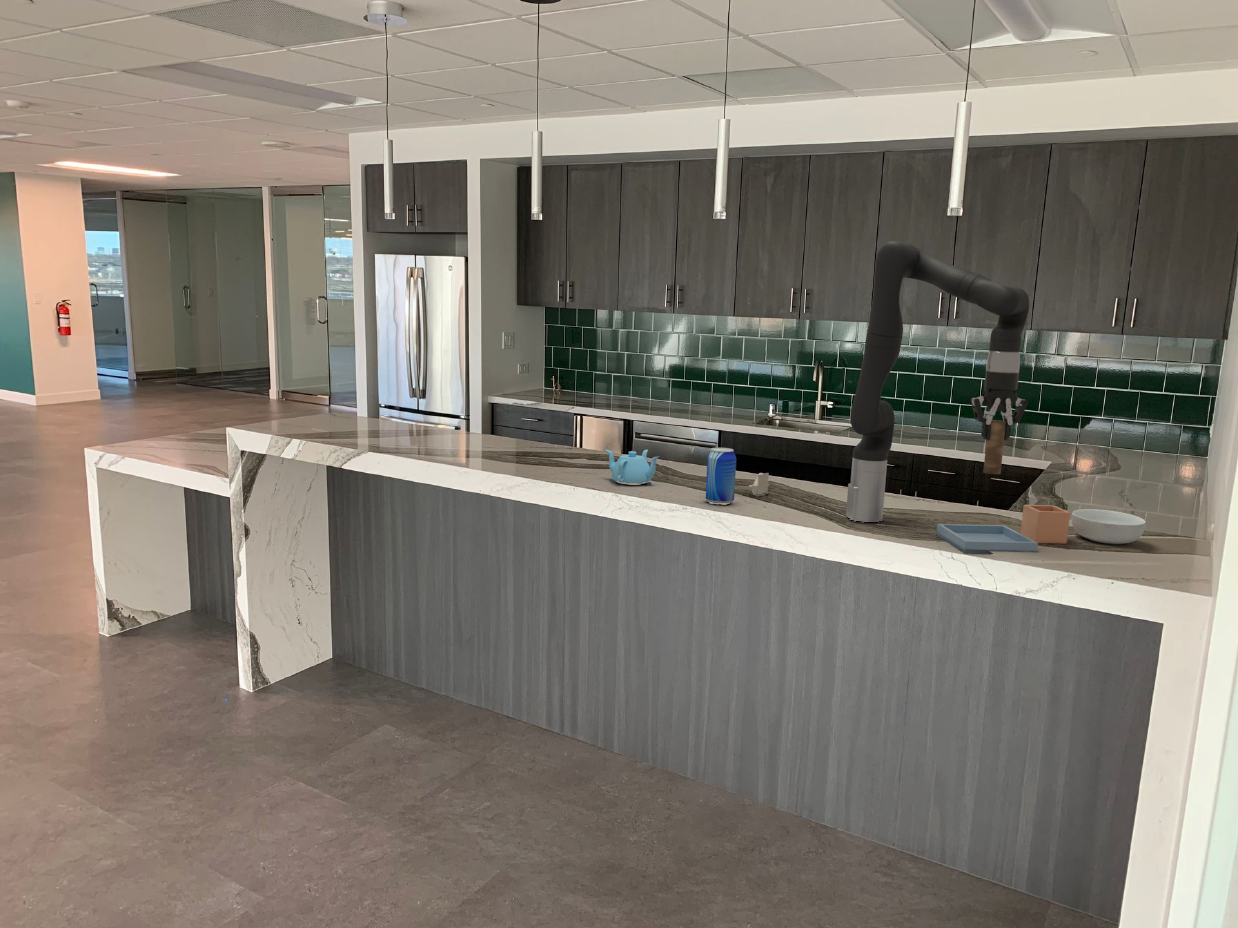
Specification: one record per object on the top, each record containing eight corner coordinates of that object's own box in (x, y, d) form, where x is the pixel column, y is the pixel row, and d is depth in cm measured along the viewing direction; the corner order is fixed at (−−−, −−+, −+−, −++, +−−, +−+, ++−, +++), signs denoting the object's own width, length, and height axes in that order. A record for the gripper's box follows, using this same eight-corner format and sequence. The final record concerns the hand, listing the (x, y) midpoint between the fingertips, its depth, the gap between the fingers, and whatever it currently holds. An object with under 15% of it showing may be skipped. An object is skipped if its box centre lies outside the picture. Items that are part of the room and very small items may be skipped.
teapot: (614, 487, 291) (615, 455, 290) (603, 478, 306) (604, 447, 304) (659, 487, 295) (660, 455, 293) (646, 478, 309) (647, 447, 307)
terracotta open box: (1035, 545, 234) (1038, 511, 233) (1020, 537, 242) (1023, 504, 241) (1066, 546, 235) (1070, 512, 233) (1050, 538, 243) (1054, 505, 241)
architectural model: (747, 497, 285) (749, 473, 284) (760, 494, 291) (761, 471, 289) (757, 499, 283) (758, 475, 282) (769, 496, 288) (770, 472, 287)
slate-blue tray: (964, 553, 225) (965, 541, 224) (936, 535, 242) (937, 523, 242) (1036, 554, 225) (1038, 542, 225) (1003, 536, 243) (1004, 525, 243)
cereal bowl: (1058, 540, 240) (1062, 514, 239) (1082, 531, 252) (1085, 506, 251) (1130, 554, 229) (1133, 526, 227) (1151, 544, 240) (1154, 517, 239)
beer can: (719, 507, 268) (722, 452, 265) (699, 501, 274) (701, 448, 271) (739, 503, 273) (742, 450, 270) (719, 498, 279) (722, 446, 277)
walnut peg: (987, 474, 229) (992, 421, 226) (980, 471, 233) (985, 419, 230) (1003, 474, 229) (1008, 422, 227) (996, 471, 233) (1001, 420, 231)
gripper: (980, 370, 222) (973, 441, 225) (1038, 372, 223) (1030, 442, 226) (967, 368, 230) (961, 436, 233) (1023, 369, 230) (1016, 438, 233)
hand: (995, 439), depth 229 cm, fingers closed on walnut peg, 4 cm apart
